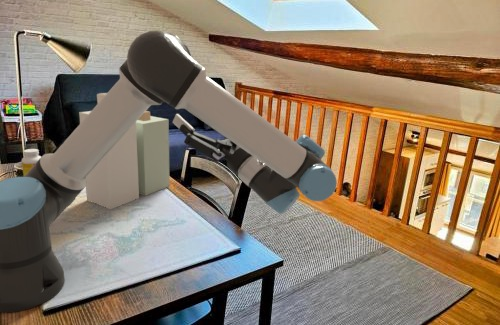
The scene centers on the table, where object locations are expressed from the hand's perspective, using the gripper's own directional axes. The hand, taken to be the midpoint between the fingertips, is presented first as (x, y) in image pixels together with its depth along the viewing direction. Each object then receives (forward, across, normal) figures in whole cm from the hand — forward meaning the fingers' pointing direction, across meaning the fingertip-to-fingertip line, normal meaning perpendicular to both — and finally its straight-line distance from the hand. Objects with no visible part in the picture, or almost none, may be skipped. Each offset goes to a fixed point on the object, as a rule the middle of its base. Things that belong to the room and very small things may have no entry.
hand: (192, 114), depth 99 cm
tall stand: (+13, +2, +46) cm, 48 cm away
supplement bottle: (+42, +10, +63) cm, 76 cm away
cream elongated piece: (+21, +2, +16) cm, 26 cm away
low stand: (+13, -13, +46) cm, 49 cm away
